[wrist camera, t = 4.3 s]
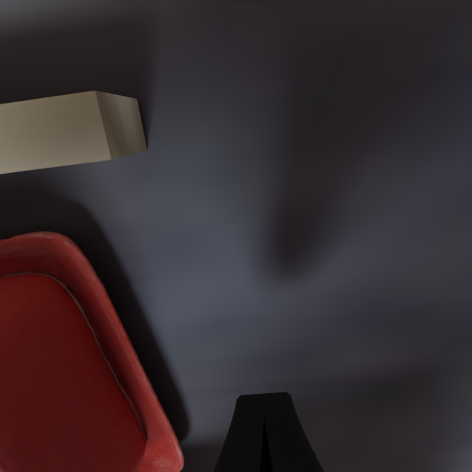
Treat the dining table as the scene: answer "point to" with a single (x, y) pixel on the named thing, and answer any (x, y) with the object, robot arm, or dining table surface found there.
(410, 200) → the dining table surface
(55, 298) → the butter dish
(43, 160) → the bar
